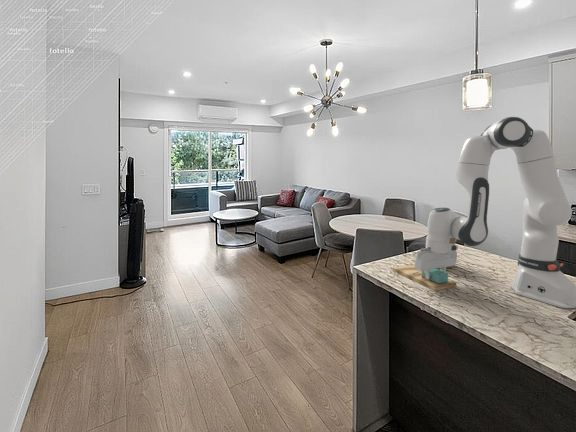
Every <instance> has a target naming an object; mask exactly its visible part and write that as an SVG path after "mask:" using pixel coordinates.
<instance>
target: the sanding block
mask: <svg viewBox="0 0 576 432" xmlns="http://www.w3.org/2000/svg"><path fill="white" fill-rule="evenodd" d="M429 274H430V275H431V279H427V280H430V281H432V282H434V283H436V284H438V285H439V284H444V283H447V282H448V278H449V273H448V272H446V271H445V272H443V271H440V269H439V268H437V269H431V270H430V272H429ZM425 276H426V274H425V272H424V271H422V277H423V278H425ZM425 279H426V278H425Z"/></svg>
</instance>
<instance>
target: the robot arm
mask: <svg viewBox="0 0 576 432" xmlns="http://www.w3.org/2000/svg"><path fill="white" fill-rule="evenodd" d="M504 149H505V150H506V149H510V150H512V151H513V152H514V154H515V157H516V163H517V167H518V172H519V173H518V174H519V178H520V179H519V180H520V183H521V185H522V187H523V190H524V193H525V195H526V197H525V198H524V200H523V201H522V204H521V205H522V206H521V207H522V239H521V248H520V253H519V254H518V259H517V269H516V274H515V276H514V279H513V280H512V283H511V284H510V287H511V289H512V290H514V293H515V294H517V295H519V296H523V297H524V298H525V297H526V298H527V299H533V300H535V301H538V302H541V303H546V304H547V305H551V306H555V307H558V308H561V309H575V308H576V283H574V282H573V281H572V280H571V279H569V277H567V275H565V273H564V272H562V271H561V267H563V266H564V263H563V262H562V263H559V261H558V260H557V255H558V250H559V249H558V248H559V241H560V240H559V235H558V226H561V225H565V224H566V223H568V222H569V221H570V219H571V217H572V214H573V210H572V207H571V205H570V203H569V202H568V199H567V196H566V193H565V190H564V187H563V186H562V183H561V180H560V178H559V174H558V170H557V165H556V159H555V155H554V149H553V146H552V144H551V141H550V139H549V136H548V134H547V133H546V132H545V131H544V130H541V129H533V128H532V127H531V126H530V125H529V124H528V122H526V120H524V119H523V118H521V117H519V116H509V117H505V118H502V119H499V120H496V121H495V122H494V123H492V124H491V125H489V126H488V127H486V128H485V130H484V131H483V132H482V133H481V134H480V135H474V136H471V137H468V138H467V139H466V140H465V141H464V143H463V146H462V148H461V150H460V154H459V157H458V161H457V166H456V172H455V173H456V180H457V181H458V183H459V184H460V185H461V186H462V187H463V188H464V189H465V190H466V191H467V193H468V196H469V204H468V210H467V211H468V212H467V213H468V215H467V217H466V216H464V215H460V214H458V213H456V212H454V211H453V210H451V208H449V207H437V208H436V207H435V208H433V209H432V210H431V211H430V212H429V215H428V219H427V227H426V230H427V235H426V240H425V248H423V247H422V248H420V249H419V250H418V251H417V253H416V256H415V261H414V265H415V268H416V269H417V270H419V271H424V272H425V274H426V276H425V278H426V279H431V275H430V274H429V272H430V270H431V269H439V270H440V271H443V272H445V273H446V270H447V268H446V267H449V266H452V267H453V266H455V265H456V263H457V260H458V251H457V250H458V249H459V246H458V245H457V244H456V243H455V244H452V243H449V242H450V238H455V240H458V241H460V242H461V243H463V244H464V245H466V246H469V247H477V246H480V245H481V244H483V243H484V242H485V241H486V239H487V238H488V235H489V227H488V221H487V220H488V212H489V211H488V209H489V202H490V201H489V200H490V183H489V169H490V164H491V161H492V160H491V159H492V156H493V154H494V153H495V152H496V151H498V150H504Z"/></svg>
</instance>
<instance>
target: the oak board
mask: <svg viewBox="0 0 576 432" xmlns="http://www.w3.org/2000/svg"><path fill="white" fill-rule="evenodd" d="M392 272H395V273H396V272H397V274H398V275H400V276H403V277H405V278H407V279H410V280H411V281H413V282H416V283H418V284H419V285H422V286H423V287H426V288H429V289H430V290H432V291H439V290H445V289H449V288H454V287H457V284H458V283H457V282H456V281H453V280H451V279H448V282H447V283H444V284H439V285H438V284H436V283H434V282H432V281H430V280H427V279H425V278H423V277H422V271H419V270H417V269H416V268H415V264H405V265H401V266H399V265H398V266H395V267H394V266H393V267H392Z"/></svg>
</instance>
